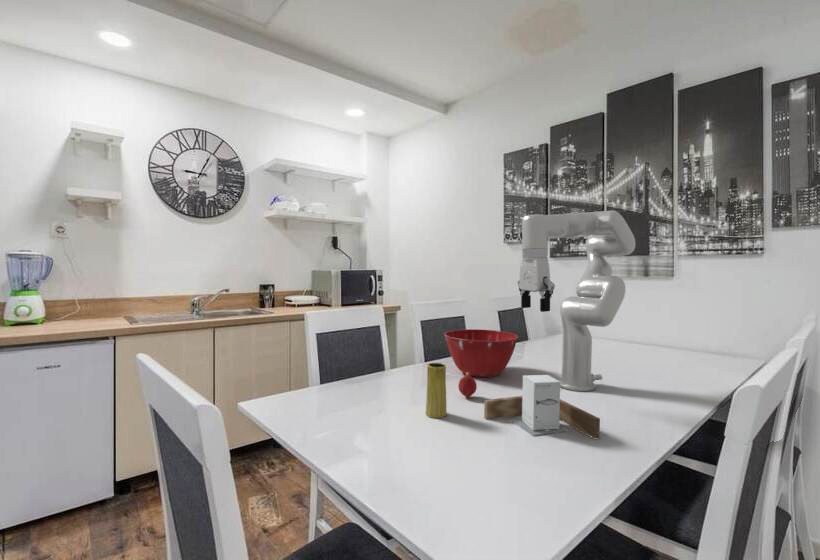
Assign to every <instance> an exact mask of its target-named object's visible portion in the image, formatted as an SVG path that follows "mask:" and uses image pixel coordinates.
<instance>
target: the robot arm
mask: <svg viewBox="0 0 820 560" xmlns="http://www.w3.org/2000/svg"><path fill="white" fill-rule="evenodd" d="M521 222H522V223H521V225H522V227H521V230H522V232H521V233H522V238H521V239H522V242H521V244H522V245H521V246H522V252H521V253H522V254H521V255H522V257H521V262H520V266H519V267H520V269H519V280H518V281H517V285H518V291H520V293H519V295H520V298H521V300H520V301H521V302H520V304H521V305H520V306H521V309H528V308H531V307H532V306H531V303H532V302H531V299H532V298H531V295H530V294H531V292H532V293H536V292H537V293H539V295H540V297H541V298H540V299H539V310H540V312H542V313H543V312H544V313H545V312H550V311H551V299H552V298H553V297H552V295H553V294H554V290H555V287H556V285H555V283H554V282H553V281H551V272H550V270H551V269H550V263H549V259H548V257H549V256H548V254H549V253H548V252H549V250H548V249H549V247H548V246H549V245H548V239H550V240H551V239H571V238H573V239H574V238H575V239H576V238H585V237H588V238H587V239H586V241H585V251H586V256H587V257H586V258H587V267H586V268H585V271H584V273H583V274H582V276H581V278H580V279H579V282H578V283H577V286H576V288H575V293H576V295H577V296H569V297H566V298H564V299H563V300H562V301H561V303H560V306H559V313H560V317H561V324H562V351H561V353H562V354H561V355H562V357H561V358H562V359H561V362H562V363H561V378H559V379H557V380H558V381H560V388H562V389H565V390H569V391H574V392H575V391H576V392H589V391H591V392H592V391H594V390H596V389H597V388H596V387H597V385H596V383H595V381H601V380H603V375H602V374H600V373H599V374H594V373H592V357H593V355H592V350H593V349H592V346H593V345H592V343H593V338H592V334H591V331H590V329H589V328H588V327H589V326H592V327H598V328H599V327H601V328H604V327H608V326H610V325H611V324H612V322H613V321H614V319H615V317H616V315H617V313H618V311H619V309H620V306H621V305H622V303H623V301H624V298H625V295H626V284H625V282H624V279H623V278H621V276H617V275H612V272H613V270H612V266H611V264H610V263H609V262H608V260H606V258H605V257H606V256H607V257H608V256H609V257H611V256H612V257H613V256H614V257H615V256H616V257H617V256H627V255H631V254H632V253H633V252H634V251H635V248H636V237H635V236H634V233H633V232H632V230H631V228H630V226H629V225H628V223H627V222H626V220H625V219H624V217H623V216H622V215H621V214H620V213H619V211H616V210H602V211H601V210H600V211H591V212H590V211H589V212H568V213H561V214H556V213H554V214H542V213H541V214H540V213H539V214H538V213H536V214H526V215H524V216H523V218H522V220H521Z"/></svg>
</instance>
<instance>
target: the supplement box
mask: <svg viewBox="0 0 820 560" xmlns="http://www.w3.org/2000/svg"><path fill="white" fill-rule="evenodd" d="M558 380H559V379H556V378H554V376H553V377H552V376H551V375H549V374H533V375H531V374H529V375H522V395H521V396H522V415H521V419H522V421H523V422H524V423H525V424H526V425H527V426H529V427H530V428H531V429H532V430H533V431H534V430H547V429H559V426H560V420H559V412H560V399H561V387H560V381H558Z"/></svg>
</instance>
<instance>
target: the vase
mask: <svg viewBox="0 0 820 560" xmlns="http://www.w3.org/2000/svg"><path fill="white" fill-rule="evenodd" d="M426 366H427V372H426V373H427V375H426V401H425V405H426V406H425V416H427V417H428V418H431V419H441V418H445V417H447V414H448V412H447V386H446V385H447V384H446V381H447V380H446V379H447V377H446V375H447V374H446V372H447V371H446V369H447V365H446V364H445V363H441V362H430V363H428V364H427V365H426Z"/></svg>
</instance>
